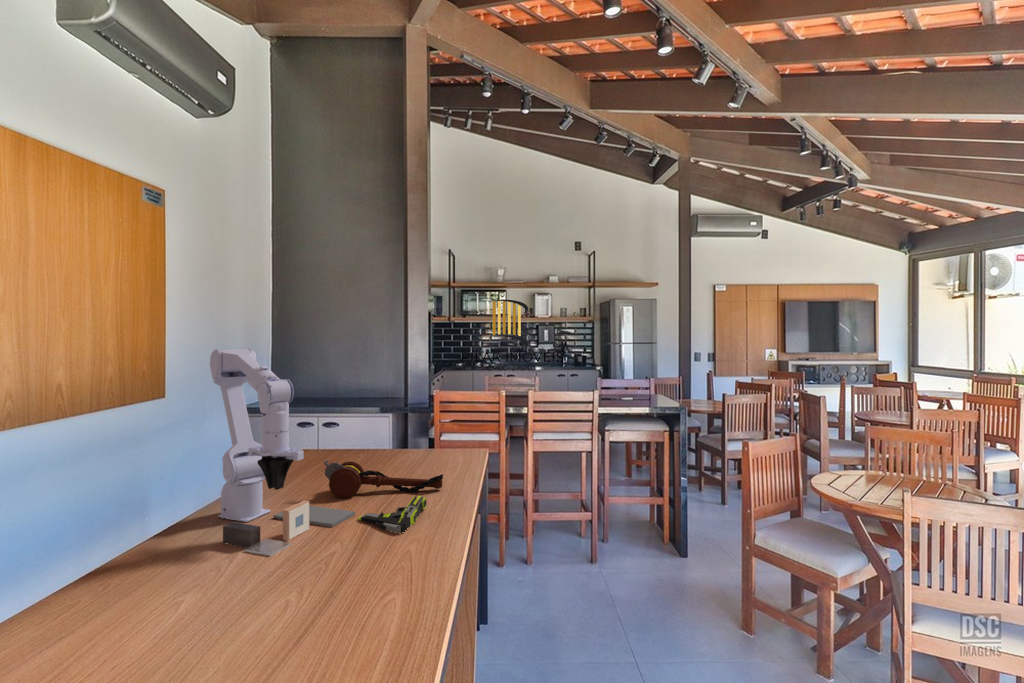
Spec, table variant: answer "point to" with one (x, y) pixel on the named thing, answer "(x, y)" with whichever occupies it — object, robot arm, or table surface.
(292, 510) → the block
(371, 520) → the toy gun
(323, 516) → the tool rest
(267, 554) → the turner
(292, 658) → the table surface
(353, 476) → the gavel
